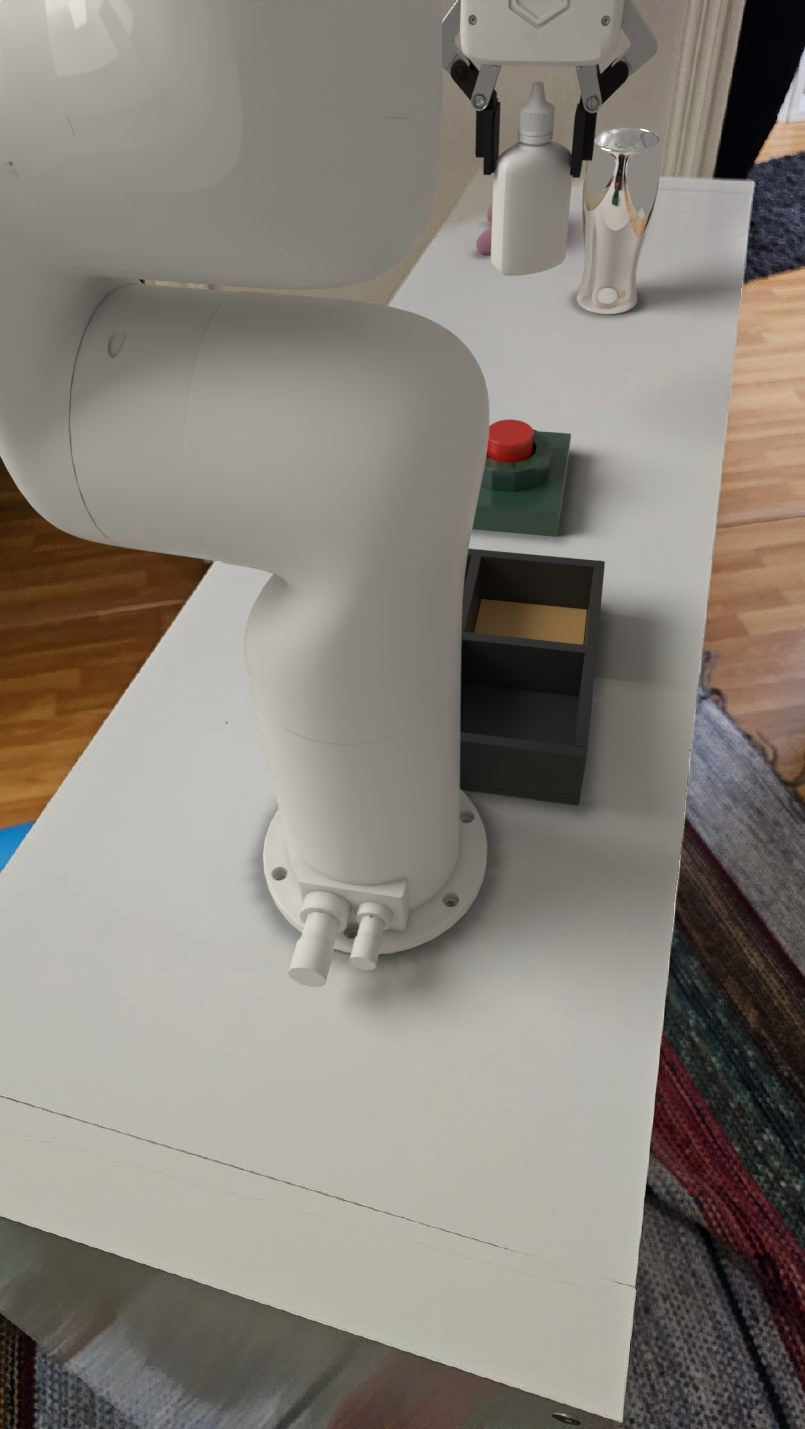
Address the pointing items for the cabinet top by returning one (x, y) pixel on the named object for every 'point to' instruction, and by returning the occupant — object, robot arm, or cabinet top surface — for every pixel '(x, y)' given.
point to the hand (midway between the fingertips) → (533, 167)
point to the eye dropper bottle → (531, 194)
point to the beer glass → (617, 215)
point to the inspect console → (525, 489)
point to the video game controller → (485, 236)
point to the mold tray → (527, 673)
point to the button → (510, 441)
